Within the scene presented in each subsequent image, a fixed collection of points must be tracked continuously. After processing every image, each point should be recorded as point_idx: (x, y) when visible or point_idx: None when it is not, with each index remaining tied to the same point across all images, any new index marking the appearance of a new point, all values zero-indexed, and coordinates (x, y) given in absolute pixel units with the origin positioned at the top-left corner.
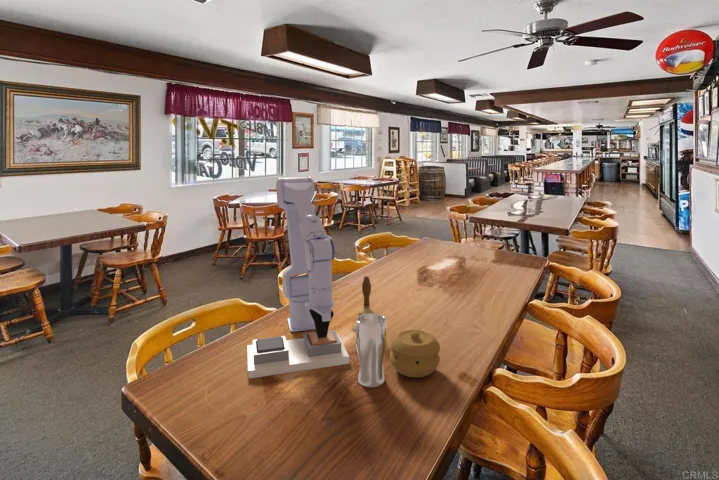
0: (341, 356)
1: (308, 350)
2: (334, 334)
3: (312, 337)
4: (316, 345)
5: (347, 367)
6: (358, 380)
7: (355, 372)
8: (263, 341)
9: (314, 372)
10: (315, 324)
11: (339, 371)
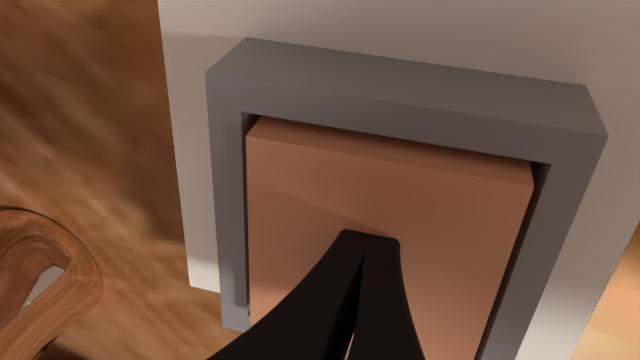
0: (197, 250)
1: (227, 60)
2: None
3: (382, 184)
4: (231, 158)
5: (175, 225)
6: (21, 215)
7: (118, 236)
8: None
9: (150, 21)
10: (237, 338)
11: (139, 172)
